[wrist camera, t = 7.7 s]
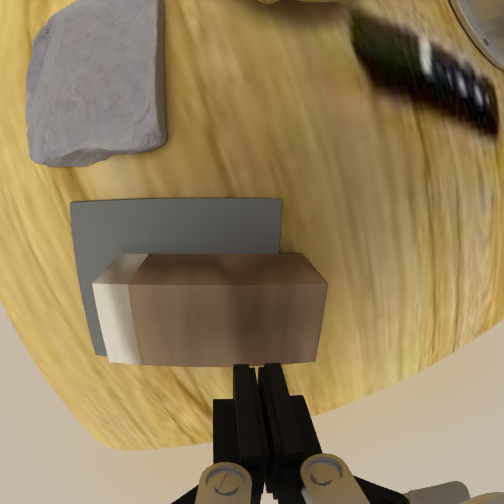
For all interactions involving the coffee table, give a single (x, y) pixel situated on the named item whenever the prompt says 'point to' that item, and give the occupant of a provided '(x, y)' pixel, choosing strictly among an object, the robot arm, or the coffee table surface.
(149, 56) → the stone block
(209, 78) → the coffee table surface
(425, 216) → the coffee table surface
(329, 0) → the tan rounded figure
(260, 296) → the walnut block
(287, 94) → the coffee table surface
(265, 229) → the rubber mat
